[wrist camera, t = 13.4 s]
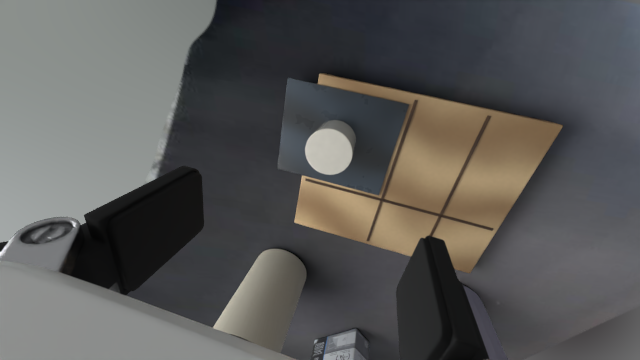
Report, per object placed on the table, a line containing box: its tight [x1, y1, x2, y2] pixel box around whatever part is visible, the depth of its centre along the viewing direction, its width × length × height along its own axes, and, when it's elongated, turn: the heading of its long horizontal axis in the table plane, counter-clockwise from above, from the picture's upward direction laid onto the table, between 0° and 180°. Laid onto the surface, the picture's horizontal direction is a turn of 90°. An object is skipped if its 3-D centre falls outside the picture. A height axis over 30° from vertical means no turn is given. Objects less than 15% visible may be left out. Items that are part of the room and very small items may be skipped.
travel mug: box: [213, 249, 307, 353], centre depth 29 cm, size 8×8×18 cm
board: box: [277, 73, 563, 273], centre depth 27 cm, size 18×25×2 cm
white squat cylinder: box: [305, 120, 356, 175], centre depth 24 cm, size 4×4×4 cm
